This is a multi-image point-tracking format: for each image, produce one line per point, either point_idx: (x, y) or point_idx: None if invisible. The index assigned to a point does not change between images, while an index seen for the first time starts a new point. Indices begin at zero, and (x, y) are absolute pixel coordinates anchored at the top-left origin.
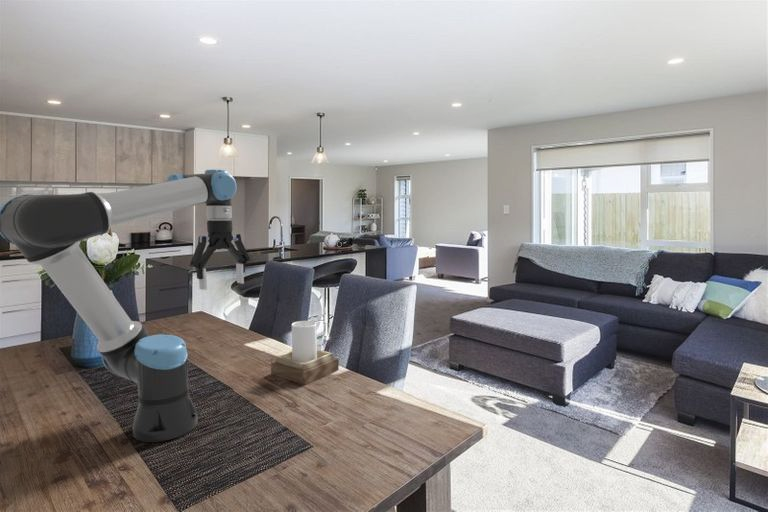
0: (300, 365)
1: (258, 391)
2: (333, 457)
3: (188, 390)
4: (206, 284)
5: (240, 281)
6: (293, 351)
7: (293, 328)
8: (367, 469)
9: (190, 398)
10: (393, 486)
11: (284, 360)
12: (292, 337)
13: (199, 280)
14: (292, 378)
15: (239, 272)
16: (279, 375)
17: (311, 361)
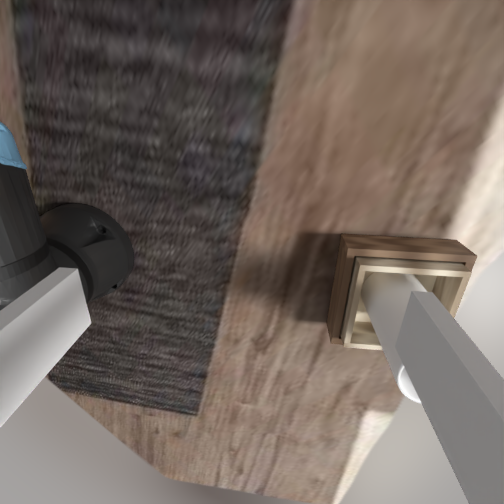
0: (344, 333)
1: (268, 266)
2: (194, 437)
3: (87, 302)
4: (67, 348)
5: (404, 344)
6: (377, 312)
7: (397, 362)
8: (200, 463)
9: (102, 288)
10: (195, 482)
11: (353, 289)
12: (392, 333)
13: (7, 310)
14: (332, 300)
15: (446, 407)
16: (338, 263)
17: (366, 348)
